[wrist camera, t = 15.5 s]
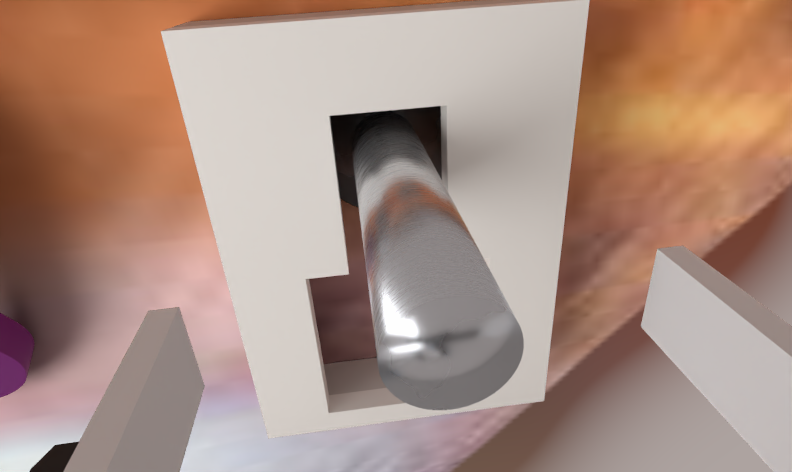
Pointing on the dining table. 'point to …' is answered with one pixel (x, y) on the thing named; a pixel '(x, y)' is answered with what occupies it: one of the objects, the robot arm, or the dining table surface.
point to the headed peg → (422, 265)
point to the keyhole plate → (318, 181)
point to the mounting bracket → (14, 354)
